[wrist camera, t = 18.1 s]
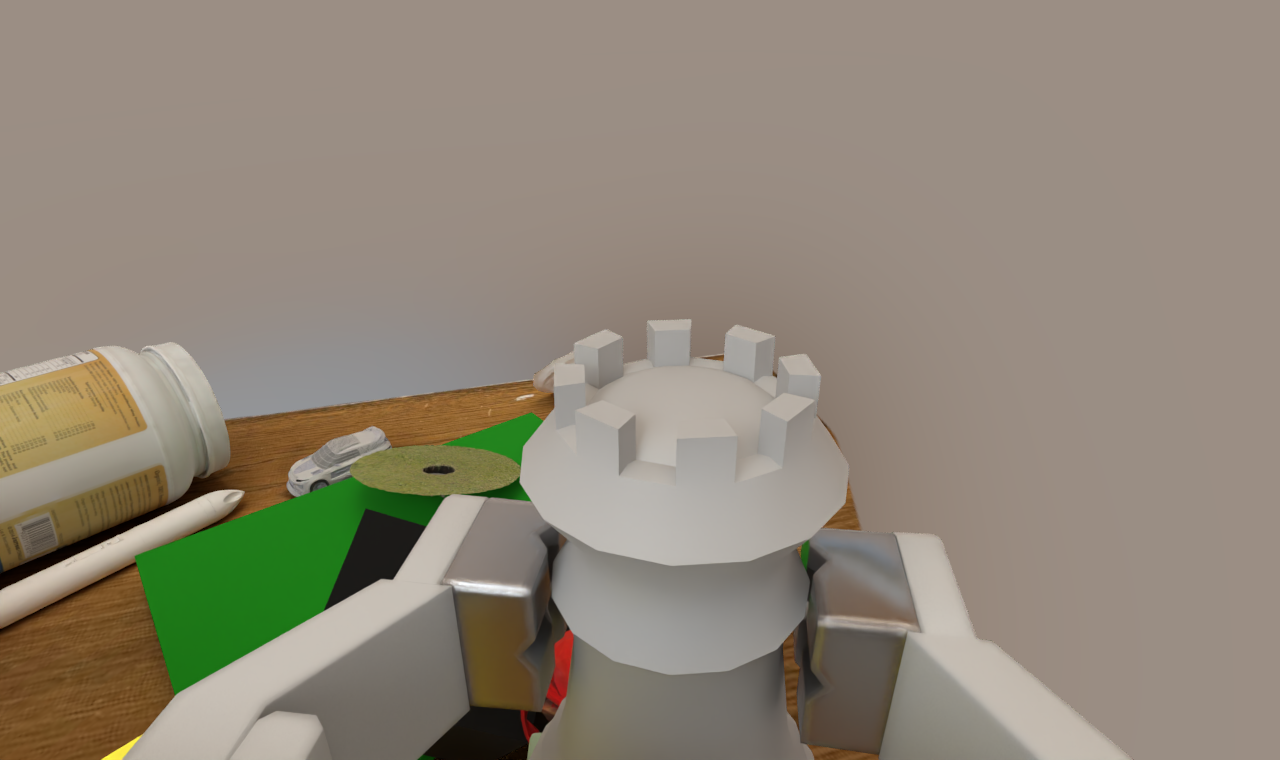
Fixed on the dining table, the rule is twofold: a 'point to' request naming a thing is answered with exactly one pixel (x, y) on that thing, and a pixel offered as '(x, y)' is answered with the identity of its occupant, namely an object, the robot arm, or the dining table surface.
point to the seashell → (550, 374)
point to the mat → (435, 470)
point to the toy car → (334, 461)
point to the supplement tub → (100, 443)
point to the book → (279, 564)
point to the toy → (381, 557)
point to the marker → (112, 555)
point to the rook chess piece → (681, 542)
